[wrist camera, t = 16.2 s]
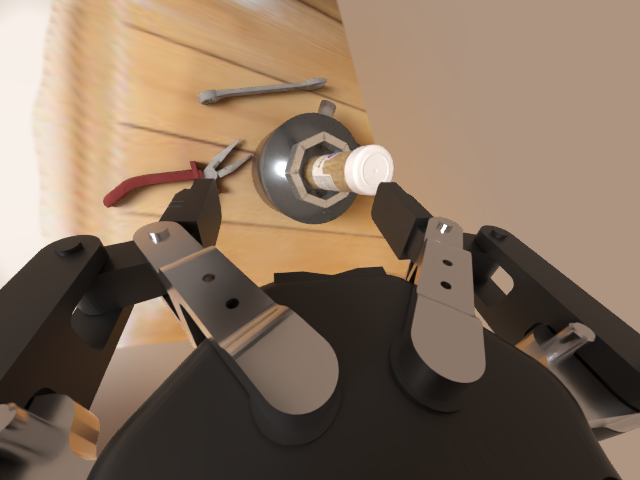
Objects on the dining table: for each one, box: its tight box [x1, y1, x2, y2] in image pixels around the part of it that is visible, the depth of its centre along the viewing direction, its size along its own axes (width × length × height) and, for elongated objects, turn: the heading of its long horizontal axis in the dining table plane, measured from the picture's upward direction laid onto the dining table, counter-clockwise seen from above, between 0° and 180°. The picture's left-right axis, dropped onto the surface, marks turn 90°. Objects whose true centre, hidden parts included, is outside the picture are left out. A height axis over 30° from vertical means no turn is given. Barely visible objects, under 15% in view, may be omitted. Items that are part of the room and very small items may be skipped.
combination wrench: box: [198, 78, 327, 105], centre depth 36 cm, size 4×1×20 cm
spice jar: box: [303, 145, 394, 196], centre depth 27 cm, size 5×5×14 cm
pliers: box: [103, 139, 252, 208], centre depth 35 cm, size 11×20×3 cm, turn 127°
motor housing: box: [252, 100, 360, 224], centre depth 36 cm, size 15×18×12 cm
